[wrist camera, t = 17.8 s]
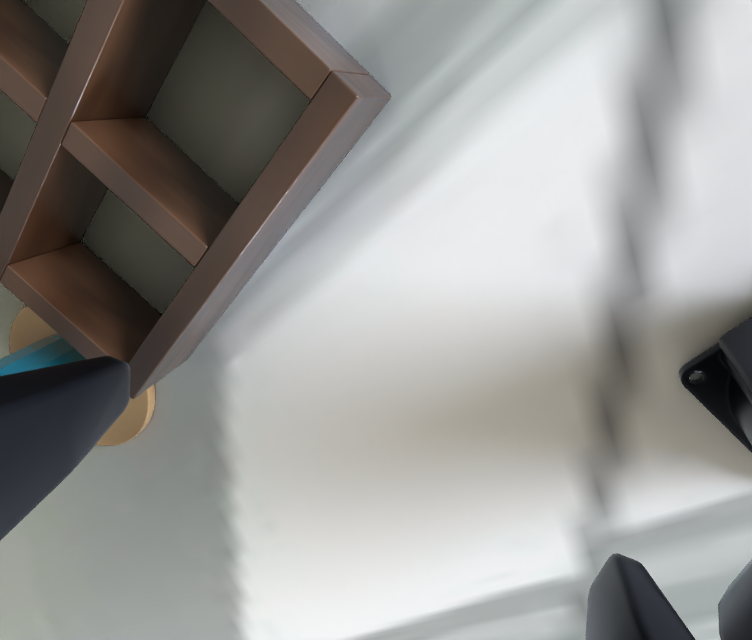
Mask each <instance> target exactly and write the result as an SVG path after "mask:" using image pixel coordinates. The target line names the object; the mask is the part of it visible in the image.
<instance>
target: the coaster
mask: <svg viewBox="0 0 752 640" xmlns="http://www.w3.org/2000/svg"><path fill="white" fill-rule="evenodd" d="M52 334H57V332H56V331H55V330H53V329H52V328H51V327H50V326H49V325H48V324H47V323H46V322H44V321H43V320H42V319H41V318H40V317H39V316H38V315H36V314H35V313H34V312H33V311H32V310H31V309H30V308H29V307H27V306H26V307H24V308H23V309H22V310H21V311H20V312H19V313H18V315H17V316H16V318H15V319H14V321H13V324H12V327H11V331H10V337H9V347H10V354H12V353H14V352H16V351H18V350H20V349H22V348H25V347H27V346H29V345H31V344H33V343H35V342H37V341H39V340H41V339H43V338H45V337H47V336H49V335H52ZM154 406H155V387H154V385H152V386H151V387H150V388H148V389H147V390H146V391H144V392H143V393H142V394H140V395H139V396H138V397H136V398H135V399H131V398H130V399H129V403H128V405H127V407H126V409H125V410H124V412H123V413H122V414H121V415H120V416H119V418H118V419H117V420H116V421H115V422H114V423H113V425H112V426H111V427H110V428H109V429H108V430H107V431H106V433H105V434H104V435H103V436H102V437H101V438H100V440H99V441H98V442H97V443H96V445H105V446H111V445H118V444H122V443H125V442H127V441H130V440H131V439H133V438H134V437H135V436H137V435H138V434H139V433H140V432H141V431H142V430H143V429H144V428H145V427H146V426H147V424H148V423H149V421H150V419H151V417H152V414H153V411H154Z"/></svg>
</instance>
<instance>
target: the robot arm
mask: <svg viewBox="0 0 752 640" xmlns="http://www.w3.org/2000/svg"><path fill="white" fill-rule="evenodd" d="M693 373H701V377H700V378H698V379H696V380H691V379H689V377H690V375H691V374H693ZM679 378H680V380H681V382H682V384H683V385H684V387H685V388H686V389H687V390H688V391H690V392H691V393H692V394H693V395H694V396H695V397H696V398H697V399H698V400H699V401H700V402H701V403H702V404H703V405H704V406H705V407H706V408H707V409H708V410H709V411H710V412H711V413H712V414H713V415H714V416H715V417H716V418H717V419H718V420H719V421H720V422H721V423H722V424H723V425H724V426H725V427H726V428H727V429H728V430H729V431H730V432H731V433H732V434H733V435H734V436H735V437H736V438H737V439H738V440H739V441H740V442H742V443H743V444H744V445H745V446H746V447H747V448H748V449H749V450H750V451H751V452H752V317H751V318H749V319H748V320H746V321H744V322H743V323H741V324H740V325H738V326H737V327H735V328H734V329H732V330H731V331H729V332H727V333H726V334H724V335H723V336H722V337H721V338H720V342H719V343H718V344H716V345H714V346H713V347H711V348H710V349H708V350H707V351H705V352H704V353H702V354H700V355H699V356H697V357H696V358H694V359H693V360H691V361H690V362H688V363H686V364H685V365H684V366H683V367H682V368H681V369H680V371H679ZM129 399H130V367H129V364H128V363H126V362H125V361H122V360H120V359H117V358H114V357H112V356H102V357H97V358H92V359H87V360H81V361H76V362H71V363H66V364H61V365H55V366H50V367H45V368H40V369H35V370H29V371H24V372H19V373H14V374H9V375H3V376H0V540H1V539H2V538H4V537H5V536H6V535H7V534H8V533H9V532H10V531H11V530H12V529H13V528H14V527H15V526H16V525H17V524H18V523H19V522H20V521H21V520H22V519H23V518H24V517H25V516H26V515H28V514H29V513H30V512H31V511H32V510H33V509H34V508H35V507H36V506H37V505H38V504H39V503H40V502H41V501H42V500H43V499H44V498H45V497H46V496H47V495H48V494H49V493H50V492H51V491H53V490H54V489H55V488H56V487H57V486H58V485H59V484H60V483H61V482H62V481H63V480H64V479H65V478H66V477H67V476H68V475H69V474H70V473H71V472H72V471H73V469H74V468H75V467H76V466H77V465H78V464H79V463H80V462H81V461H82V459H83V458H84V457H85V456H86V455H87V454H88V452H89V451H90V450H91V449H92V448H93V447H94V445H95V444H96V443H97V442H98V441H99V440H100V438H101V437H102V436H103V435H104V434H105V433H106V431H107V430H108V429H109V428H110V427H111V426H112V425H113V423H114V422H115V421H116V420H117V419H118V418H119V416H120V415H121V414H122V413H123V412H124V410H125V409H126V407H127V405H128V403H129ZM718 612H719V634H720V638H721V640H752V560H751V561H750V562H749V563H748V564H747V566H746V567H745V568H744V569H743V570H742V572H741V573H740V574H739V575H738V576H737V577H736V579H735V580H734V581H733V582H732V583H731V584H730V586H729V587H728V589H727V590H726V592H725V594H724V595H723V597H722V599H721V600H720V602H719V604H718ZM585 640H695V638H694V637H693V636H692V634H691V633H690V631H689V630H688V628H687V627H686V626H685V624H684V623H683V621H682V620H681V618H680V617H679V616H678V614H677V613H676V611H675V610H674V609H673V607H672V606H671V604H670V603H669V601H668V600H667V599H666V597H665V596H664V594H663V593H662V592H661V590H660V589H659V587H658V586H657V584H656V583H655V582H654V580H653V579H652V577H651V576H650V574H649V573H648V572H647V570H646V569H645V567H644V566H643V565H642V564H641V563H640V562H638V561H636V560H633V559H631V558H628V557H626V556H623V555H621V554H613V555H611V556H610V557H609V559H608V560H607V562H606V563H605V565H604V566H603V568H602V569H601V571H600V572H599V574H598V576H597V577H596V579H595V580H594V582H593V583H592V585H591V588H590V591H589V595H588V606H587V622H586V639H585Z"/></svg>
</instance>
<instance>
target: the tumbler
mask: <svg viewBox="0 0 752 640" xmlns="http://www.w3.org/2000/svg"><path fill="white" fill-rule="evenodd" d="M81 360H87V359H86V358H85V357H84V356H83V355H82V354H80V353H79V352H78V351H77V350H76V349H75V348H74V347H73V346H71V345H70V344H69V343H68V342H67V341H66V340H65V339H64V338H62V337H61V336H60V335H59V334H58V333H57V334H52V335H49V336H47V337H45V338H43V339H41V340H39V341H37V342H35V343H33V344H31V345H29V346H27V347H25V348H22V349H20V350H18V351H16V352H14V353H12V354H10V355H8V356H6V357H4V358H2V359H0V376H3V375H9V374H14V373H19V372H24V371H29V370H35V369H40V368H45V367H50V366H55V365H61V364H66V363H71V362H76V361H81Z"/></svg>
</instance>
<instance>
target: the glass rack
mask: <svg viewBox="0 0 752 640" xmlns="http://www.w3.org/2000/svg"><path fill="white" fill-rule="evenodd" d="M207 1H208V2H209V3H210V4H211V5H212V6H213V7H214V8H215V9H217V10H218V11H219V12H220V13H221V14H222V15H223V16H224V17H225V18H226V19H227V20H228V21H229V22H230V23H231V24H232V25H233V26H234V27H235V28H236V29H237V30H238V31H239V32H240V33H241V34H242V35H243V36H244V37H245V38H247V39H248V40H249V41H250V42H251V43H252V44H253V45H254V46H255V47H256V48H257V49H258V50H259V51H260V52H261V53H262V54H263V55H264V56H265V57H266V58H267V59H268V60H269V61H270V62H271V63H272V64H273V65H274V66H275V67H277V68H278V69H279V70H280V71H281V72H282V73H283V74H284V75H285V76H286V77H287V78H288V79H289V80H290V81H291V82H292V83H293V84H294V85H295V86H296V87H297V88H298V89H299V90H300V91H301V92H302V93H303V94H304V95H305V96H306V97H308V98H309V99H310V100H311V102H310V103H309V105H308V106H307V107H306V109H305V110H304V112H303V113H302V115H301V116H300V117H299V119H298V120H297V122H296V123H295V125H294V126H293V128H292V129H291V130H290V132H289V133H288V135H287V136H286V138H285V139H284V140H283V142H282V143H281V145H280V146H279V148H278V149H277V151H276V152H275V153H274V155H273V156H272V158H271V159H270V161H269V162H268V164H267V165H266V166H265V168H264V169H263V171H262V172H261V174H260V175H259V176H258V178H257V179H256V181H255V182H254V184H253V185H252V187H251V188H250V189H249V191H248V192H247V194H246V195H245V197H244V198H243V200H242V201H241V202H240V204H238V203H237V202H236V201H234V200H233V199H232V198H231V197H230V196H229V195H228V194H227V193H226V192H225V191H224V190H223V189H222V188H221V187H220V186H218V185H217V184H216V183H215V182H214V181H213V180H212V179H211V178H210V177H209V176H208V175H207V174H206V173H205V172H204V171H202V170H201V169H200V168H199V167H198V166H197V165H196V164H195V163H194V162H193V161H192V160H191V159H190V158H189V157H188V156H186V155H185V154H184V153H183V152H182V151H181V150H180V149H179V148H178V147H177V146H176V145H175V144H174V143H173V142H172V141H170V140H169V139H168V138H167V137H166V136H165V135H164V134H163V133H162V132H161V131H160V130H159V129H158V128H157V127H156V126H154V125H153V124H152V123H151V122H150V121H149V120H148V119H147V118H145V115H146V114H147V112H148V110H149V108H150V106H151V104H152V102H153V100H154V98H155V96H156V94H157V92H158V91H159V89H160V87H161V85H162V83H163V81H164V79H165V77H166V75H167V73H168V71H169V69H170V68H171V66H172V64H173V62H174V60H175V58H176V56H177V54H178V52H179V50H180V48H181V46H182V45H183V43H184V41H185V39H186V37H187V35H188V33H189V31H190V29H191V27H192V25H193V23H194V22H195V20H196V18H197V16H198V14H199V12H200V10H201V8H202V6H203V4H204V2H205V0H87V2H86V4H85V7H84V9H83V12H82V14H81V16H80V19H79V21H78V24H77V26H76V29H75V31H74V34H73V36H72V39H71V41H70V44H69V45H68V44H67V43H66V42H65V41H64V40H63V39H62V38H61V37H60V36H59V35H58V34H57V33H56V32H55V31H53V30H52V29H51V28H50V27H49V26H48V25H47V24H46V23H45V22H44V21H43V20H42V19H41V18H40V17H39V16H37V15H36V14H35V13H34V12H33V11H32V10H31V9H30V8H29V7H28V6H27V5H26V4H25V3H24V2H23V1H21V0H0V89H1V90H2V91H3V92H4V93H5V94H6V95H7V96H8V97H9V98H10V99H11V100H12V101H14V102H15V103H16V104H17V105H18V106H19V107H20V108H21V109H22V110H23V111H24V112H26V113H27V114H28V115H29V116H30V117H31V118H32V119H33V120H34V121H35V122H37V125H36V128H35V130H34V133H33V135H32V138H31V140H30V143H29V145H28V148H27V150H26V153H25V155H24V157H23V160H22V162H21V165H20V167H19V170H18V172H17V175H16V177H15V180H14V181H13V180H12V179H10V178H9V177H8V176H7V175H6V174H5V173H4V172H3V171H2V170H1V169H0V282H1V283H2V284H3V285H4V286H5V287H6V288H7V289H8V290H9V291H11V292H12V293H13V294H14V295H15V296H16V297H17V298H18V299H20V300H21V301H22V302H23V303H24V304H25V305H26V306H27V307H29V308H30V309H31V310H32V311H33V312H34V313H35V314H36V315H38V316H39V317H40V318H41V319H42V320H43V321H44V322H46V323H47V324H48V325H49V326H50V327H51V328H52V329H53V330H55V331H56V332H57V333H58V334H59V335H60V336H61V337H62V338H64V339H65V340H66V341H67V342H68V343H69V344H70V345H71V346H73V347H74V348H75V349H76V350H77V351H78V352H79V353H80V354H82V355H83V356H84V357H85V358H86V359H92V358H97V357H102V356H112V357H114V358H117V359H120V360H122V361H125V362H126V363H128V364H129V367H130V398H131V399H135V398H136V397H138V396H139V395H140V394H142V393H143V392H144V391H146V390H147V389H148V388H150V387H151V386H152V385H154V384H155V383H156V382H158V381H159V380H160V379H162V378H163V377H164V376H166V375H167V374H168V373H170V372H171V371H172V370H174V369H175V368H176V367H178V366H179V365H180V364H182V363H183V362H184V361H186V360H187V359H188V357H189V356H190V355H191V354H192V352H193V351H194V350H195V348H196V347H197V346H198V345H199V343H200V342H201V341H202V339H203V338H204V337H205V336H206V334H207V333H208V332H209V330H210V329H211V328H212V327H213V325H214V324H215V323H216V322H217V320H218V319H219V318H220V316H221V315H222V314H223V313H224V311H225V310H226V309H227V307H228V306H229V305H230V304H231V302H232V301H233V300H234V298H235V297H236V296H237V295H238V293H239V292H240V291H241V289H242V288H243V287H244V286H245V284H246V283H247V282H248V280H249V279H250V278H251V277H252V275H253V274H254V273H255V271H256V270H257V269H258V268H259V266H260V265H261V264H262V263H263V261H264V260H265V259H266V257H267V256H268V255H269V254H270V252H271V251H272V250H273V248H274V247H275V246H276V245H277V243H278V242H279V241H280V239H281V238H282V237H283V236H284V234H285V233H286V232H287V230H288V229H289V228H290V227H291V225H292V224H293V223H294V221H295V220H296V219H297V218H298V216H299V215H300V214H301V212H302V211H303V210H304V209H305V207H306V206H307V205H308V204H309V202H310V201H311V200H312V198H313V197H314V196H315V195H316V193H317V192H318V191H319V189H320V188H321V187H322V186H323V184H324V183H325V182H326V180H327V179H328V178H329V177H330V175H331V174H332V173H333V171H334V170H335V169H336V168H337V166H338V165H339V164H340V162H341V161H342V160H343V159H344V157H345V156H346V155H347V153H348V152H349V151H350V150H351V148H352V147H353V146H354V145H355V143H356V142H357V141H358V139H359V138H360V137H361V136H362V134H363V133H364V132H365V130H366V129H367V128H368V127H369V125H370V124H371V123H372V121H373V120H374V119H375V118H376V116H377V115H378V114H379V112H380V111H381V110H382V109H383V107H384V106H385V105H386V103H387V102H388V101H389V100H390V98H391V95H390V94H389V93H388V92H387V91H386V90H385V89H384V88H383V87H382V86H381V85H380V84H379V83H378V82H377V81H376V80H375V79H374V78H373V77H372V76H370V74H369V73H368V72H367V71H366V70H365V69H364V68H363V67H362V66H361V65H360V64H359V63H358V62H357V61H356V60H355V59H354V58H353V57H352V56H351V55H350V54H349V53H348V52H347V51H346V50H345V49H344V48H343V47H342V46H341V45H340V44H339V43H338V42H337V41H336V40H335V39H334V38H333V37H332V36H331V35H330V34H329V33H328V32H326V31H325V30H324V29H323V28H322V27H321V26H320V25H319V24H318V23H317V22H316V21H315V20H314V19H313V18H312V17H311V16H310V15H309V14H308V13H307V12H306V11H305V10H304V9H303V8H302V7H301V6H300V5H299V4H298V3H297V2H296V1H295V0H207ZM107 188H109V189H110V190H111V191H112V192H113V193H114V194H115V195H116V196H117V197H118V198H119V199H121V200H122V201H123V202H124V203H125V204H126V205H127V206H128V207H129V208H130V209H131V210H133V211H134V212H135V213H136V214H137V215H138V216H139V217H140V218H141V219H142V220H143V221H144V222H146V223H147V224H148V225H149V226H150V227H151V228H152V229H153V230H154V231H155V232H156V233H158V234H159V235H160V236H161V237H162V238H163V239H164V240H165V241H166V242H167V243H168V244H169V245H171V246H172V247H173V248H174V249H175V250H176V251H177V252H178V253H179V254H180V255H181V256H183V257H184V258H185V259H186V260H187V261H188V262H189V263H190V264H191V265H192V266H194V267H195V266H196V267H195V269H194V270H193V271H192V273H191V274H190V276H189V277H188V279H187V280H186V282H185V283H184V284H183V286H182V287H181V289H180V290H179V292H178V293H177V295H176V296H175V297H174V299H173V300H172V302H171V303H170V305H169V306H168V307H167V309H166V310H165V312H164V313H163V315H160V314H159V313H158V312H157V311H156V310H155V309H154V308H153V307H152V306H151V305H149V304H148V303H147V302H146V301H145V300H144V299H143V298H142V297H141V296H140V295H138V294H137V293H136V292H135V291H134V290H133V289H132V288H131V287H130V286H128V285H127V284H126V283H125V282H124V281H123V280H122V279H121V278H120V277H119V276H117V275H116V274H115V273H114V272H113V271H112V270H111V269H110V268H109V267H108V266H106V265H105V264H104V263H103V262H102V261H101V260H100V259H99V258H98V257H96V256H95V255H94V254H93V253H92V252H91V251H90V250H89V249H88V248H87V247H85V246H84V245H83V244H82V243H81V242H80V240H81V238H82V236H83V234H84V232H85V231H86V229H87V227H88V225H89V223H90V221H91V219H92V217H93V215H94V213H95V211H96V209H97V208H98V206H99V204H100V202H101V200H102V198H103V196H104V194H105V192H106V190H107Z"/></svg>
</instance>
